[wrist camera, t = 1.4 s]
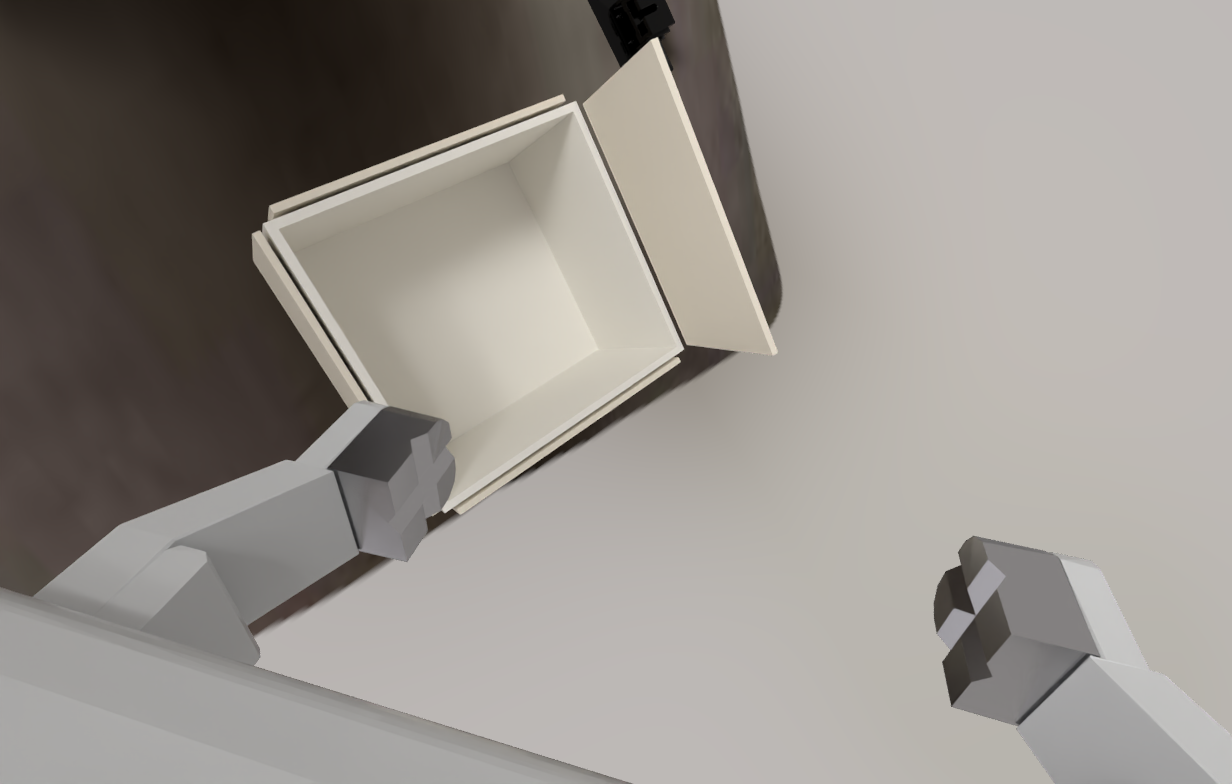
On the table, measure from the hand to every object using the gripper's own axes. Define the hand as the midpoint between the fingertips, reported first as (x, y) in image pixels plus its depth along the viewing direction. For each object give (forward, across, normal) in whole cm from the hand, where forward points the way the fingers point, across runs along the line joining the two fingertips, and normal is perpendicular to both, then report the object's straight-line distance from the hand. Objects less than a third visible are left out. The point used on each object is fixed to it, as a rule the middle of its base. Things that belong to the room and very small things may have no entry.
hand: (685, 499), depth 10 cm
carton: (+30, +21, +17) cm, 40 cm away
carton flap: (+28, +4, +6) cm, 29 cm away
